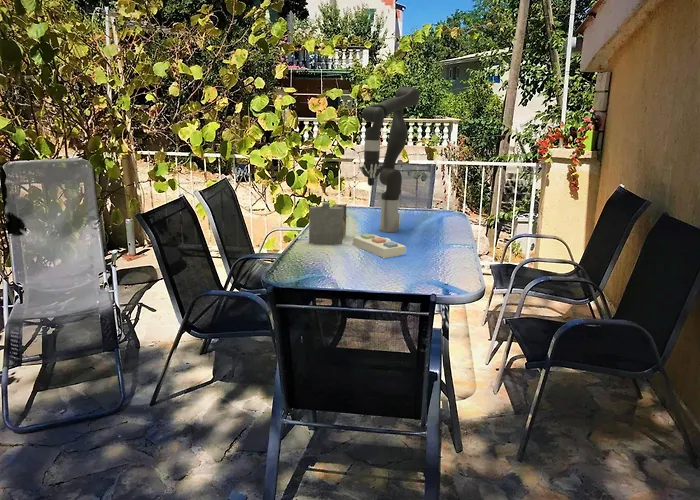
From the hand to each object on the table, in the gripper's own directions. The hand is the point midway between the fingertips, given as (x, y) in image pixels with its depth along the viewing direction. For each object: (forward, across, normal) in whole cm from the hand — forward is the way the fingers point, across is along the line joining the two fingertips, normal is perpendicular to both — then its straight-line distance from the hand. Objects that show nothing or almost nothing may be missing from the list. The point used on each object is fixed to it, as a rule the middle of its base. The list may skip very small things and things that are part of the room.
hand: (370, 185), depth 263 cm
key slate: (+25, +8, +28) cm, 39 cm away
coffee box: (+27, +12, -10) cm, 31 cm away
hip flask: (+27, +24, -2) cm, 36 cm away
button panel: (+27, +8, +20) cm, 34 cm away
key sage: (+25, +8, +11) cm, 28 cm away
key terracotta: (+25, +8, +20) cm, 32 cm away
